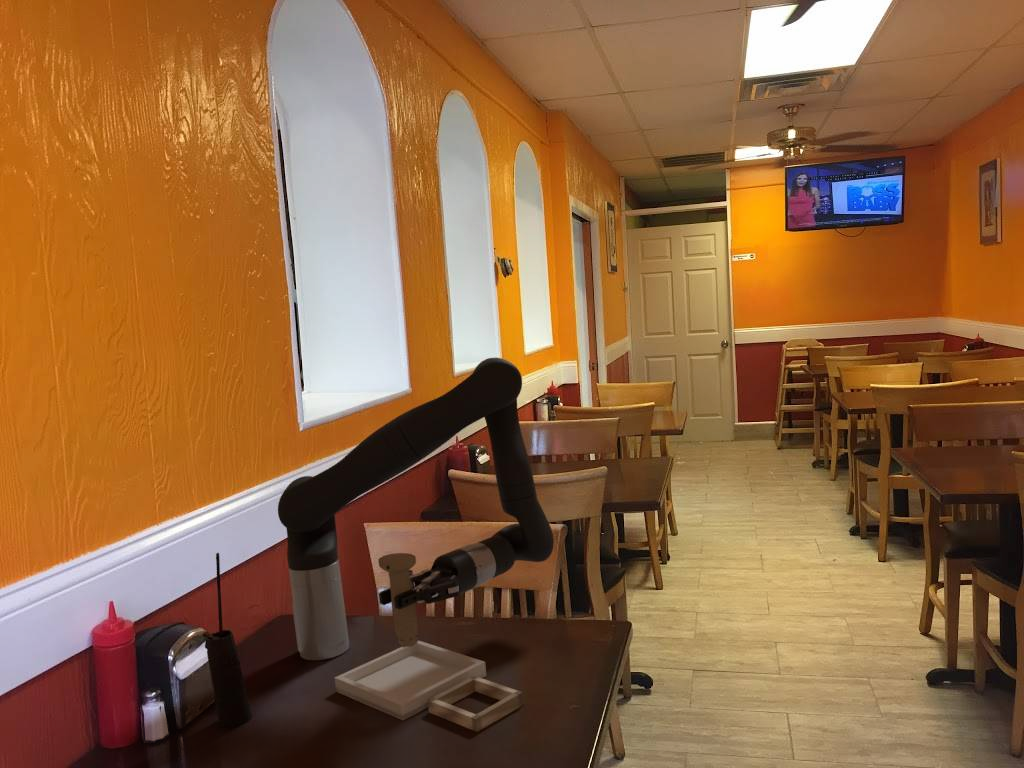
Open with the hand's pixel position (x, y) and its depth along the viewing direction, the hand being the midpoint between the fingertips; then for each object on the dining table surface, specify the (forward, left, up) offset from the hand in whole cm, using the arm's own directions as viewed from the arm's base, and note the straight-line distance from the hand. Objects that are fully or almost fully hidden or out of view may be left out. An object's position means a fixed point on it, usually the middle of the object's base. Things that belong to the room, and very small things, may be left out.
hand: (388, 601), depth 142 cm
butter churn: (-16, -22, -16) cm, 32 cm away
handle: (0, +3, -9) cm, 9 cm away
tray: (0, +3, -15) cm, 16 cm away
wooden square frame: (+16, +3, -15) cm, 22 cm away
